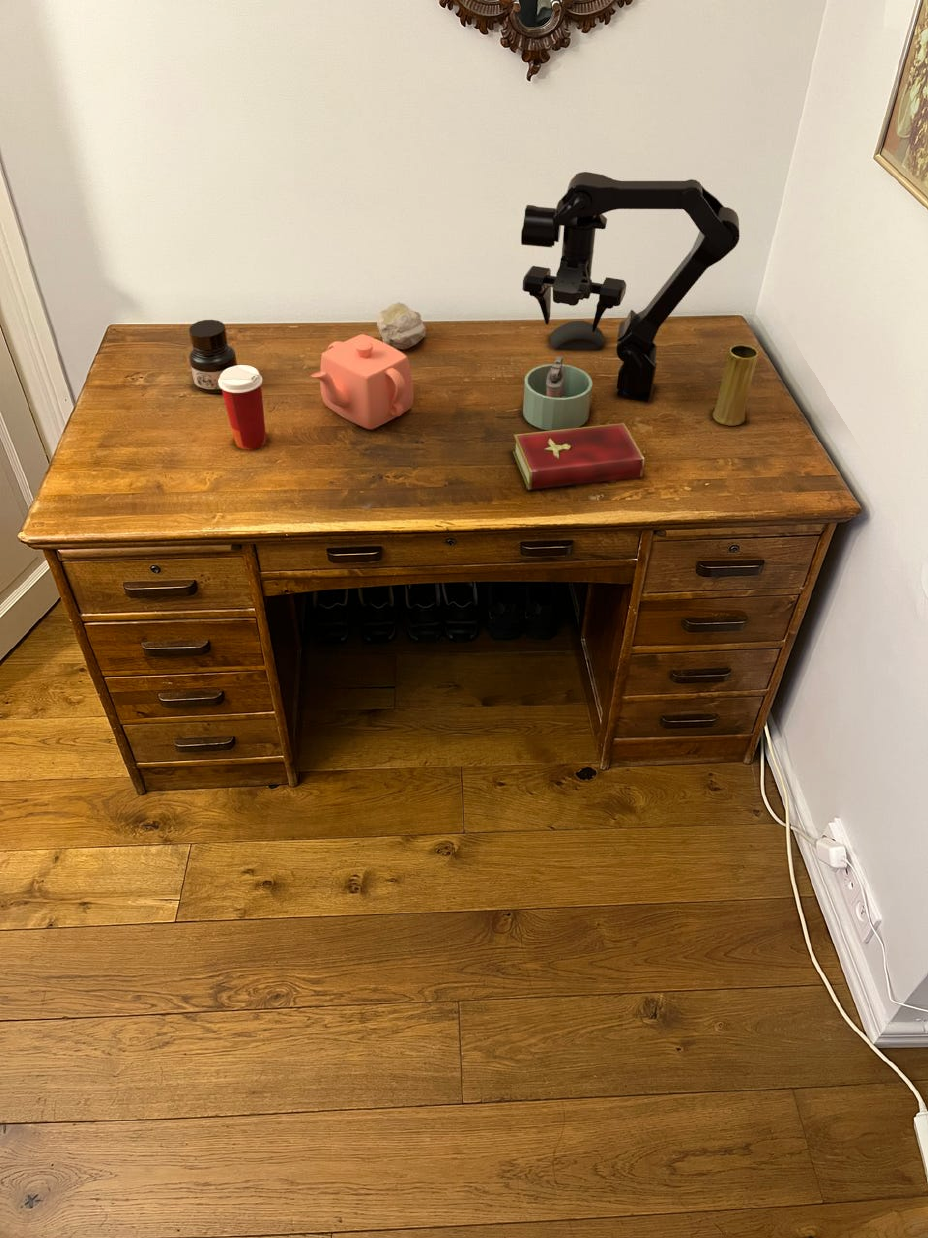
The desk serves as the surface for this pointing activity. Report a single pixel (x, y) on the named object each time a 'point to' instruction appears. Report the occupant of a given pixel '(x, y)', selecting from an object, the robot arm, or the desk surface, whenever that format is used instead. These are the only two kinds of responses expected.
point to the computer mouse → (577, 337)
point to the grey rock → (400, 326)
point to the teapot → (365, 381)
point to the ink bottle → (210, 354)
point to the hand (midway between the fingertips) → (570, 327)
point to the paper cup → (244, 405)
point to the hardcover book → (578, 456)
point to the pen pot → (557, 399)
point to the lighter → (556, 379)
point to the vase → (735, 385)
